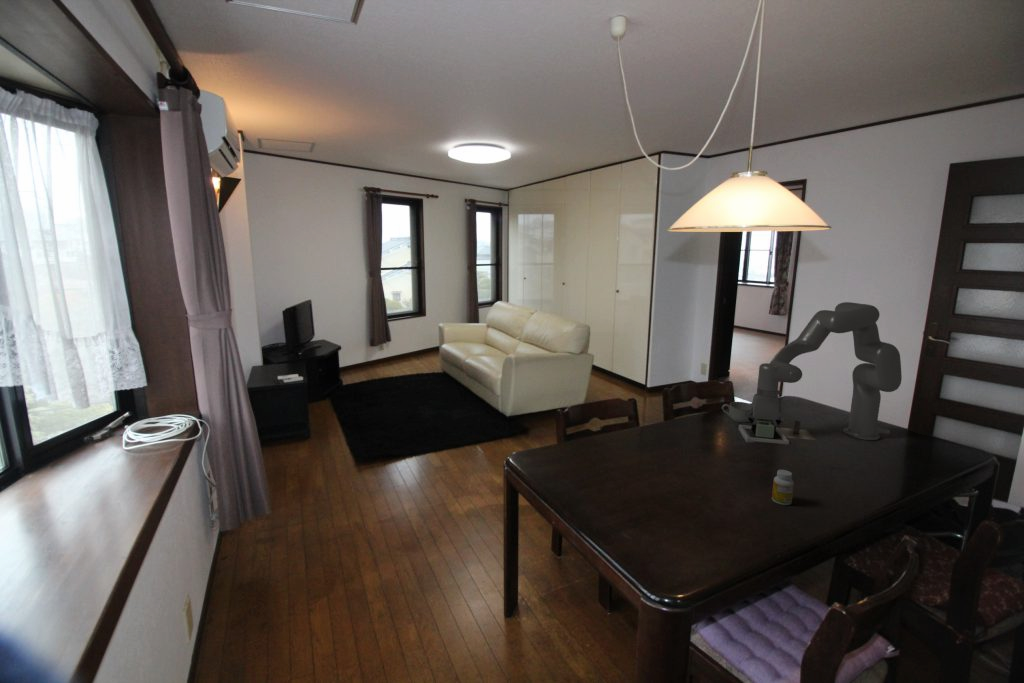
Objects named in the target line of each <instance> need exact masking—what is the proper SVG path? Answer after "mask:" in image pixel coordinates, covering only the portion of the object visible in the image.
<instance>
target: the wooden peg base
mask: <svg viewBox="0 0 1024 683" xmlns="http://www.w3.org/2000/svg"><path fill="white" fill-rule="evenodd" d="M793 422H794V423H793V428H790V427H789V428H788V427H777V426H776V428H778V429H779V430H780V431H781V432H782V433H783V435H784V436H785V437H786V438H787V439H798V440H812V441H817V438H816V437H814V435H813V434H812V433H810V431H809V430H807V429H800V428H801V421H800V420H794V421H793Z"/></svg>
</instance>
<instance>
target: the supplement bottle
mask: <svg viewBox="0 0 1024 683" xmlns="http://www.w3.org/2000/svg"><path fill="white" fill-rule="evenodd" d="M792 478H793V473H792V472H791V471H788V470H786V469H777V472H776V476H774V478H773V484H772V493H771V494H772V495H771V500H772V501H773V502H774V503H776V504H778V505H783V506H789V505H791V504H792V501H793V495H794V494H793V493H794V485H795V483H794V480H793V479H792Z"/></svg>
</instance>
